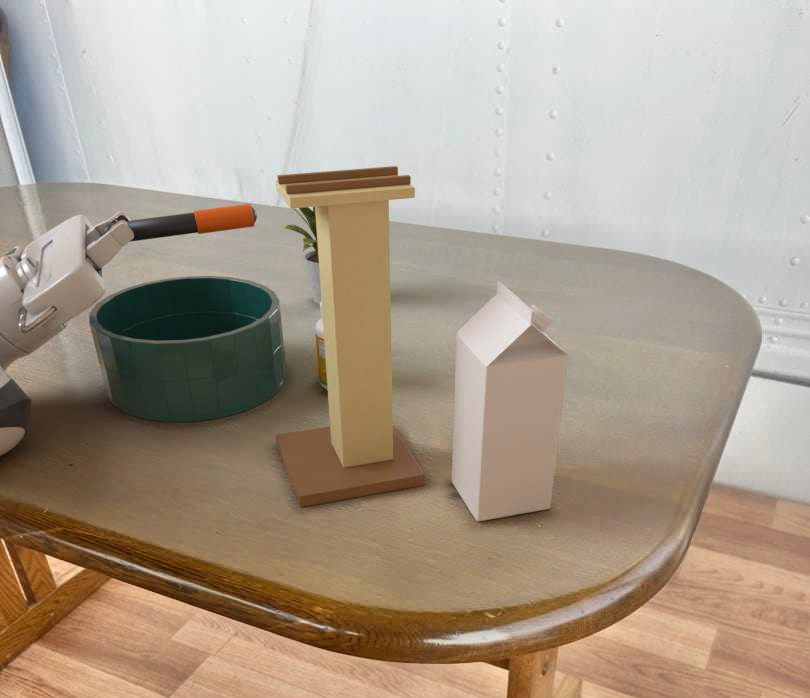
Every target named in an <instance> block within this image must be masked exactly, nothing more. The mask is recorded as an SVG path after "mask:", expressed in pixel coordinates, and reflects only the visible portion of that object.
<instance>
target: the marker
mask: <svg viewBox="0 0 810 698" xmlns="http://www.w3.org/2000/svg"><path fill="white" fill-rule="evenodd" d="M130 220H131V221H126V222H127V223H128V224H129V226H130V227H131V228H132V229H133V233H134V238H133V239H132V240H131V241H129V242H128V243H132V242H138V241H144V240H153V239H159V238H160V239H161V238H168V237H175V236H183V235H189V234H191V235H192V234H198V235H202V234H209V233H217V232H224V231H225V232H226V231H232V230H238V229H247V228H254V227H255V223H257V220H258V214H257V211H256V209H255V208H254V207H252V205H251V203H244V204H237V205H229V206H220V207H213V208H206V209H198V210H193V212H187V213H185V212H184V213H179V214H178V213H177V214H171V215H163V216H155V217H147V218H141V219H130ZM117 223H118V222H115V223H109V224H107V225H106V226H105V227H104V229H103V235H104V234H106V233H107V232H108V231H110V228H111V227H112V226H113V225H115V224H117Z"/></svg>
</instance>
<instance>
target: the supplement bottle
mask: <svg viewBox="0 0 810 698" xmlns="http://www.w3.org/2000/svg"><path fill="white" fill-rule="evenodd" d="M319 313H320V314H319V315H320V317H321V318H319V320H317V321H316V323H315V326H314V333H315V345H316V347H315V348H316V360H317V371H318V372H317V374H318V380H319V381H318V382H319V385H320V386H321V387H322V388H323V389H325V390H326V391H328V388H327V373H326V359H325V344H324V330H323V315H322V301H321V302H320V305H319Z"/></svg>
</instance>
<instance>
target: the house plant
mask: <svg viewBox="0 0 810 698" xmlns="http://www.w3.org/2000/svg"><path fill="white" fill-rule="evenodd" d="M298 209H299V211H300V212H301V213H302V215H303V216H304V217H305V218H304V217H303V216H302V215H301V214H300V212H299V211H298V210H297V208H294V209H293V211H295V212H296V213H297V214H298V215H299V217H301V219H302V220H303V221H304V222H305V223H306V225H307V226H308V227H309V229H310V231H311V233H312V235H313V236H314V238H315V239H314V238H313V237H312V235H311V234H310V233H308V232H307V230H305V229H304V228H302V227H300V226H298V225H296V224H286V225H285V226H283V229H284V230H285V229H286V230H289V231H292V232H296V233H298V234H300V235H303V236H304V237H303V239H302V240H303V250H302V253H304V252H305V251H306V250H307V249H310V248H311V247H313V250H311V251H308V252H306V253H304V255H303V261H304V265H305V266H304V267H305V269H306V273H307V278H308V281H309V282H308V283H309V286H310V289H311V293H312V299H313V301H314V303H315V304H317V305H319V306H320V302H321V286H320V271H319V257H318V242H317V228H316V213H315V207H312V208H311V207H305V208H298Z"/></svg>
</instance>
